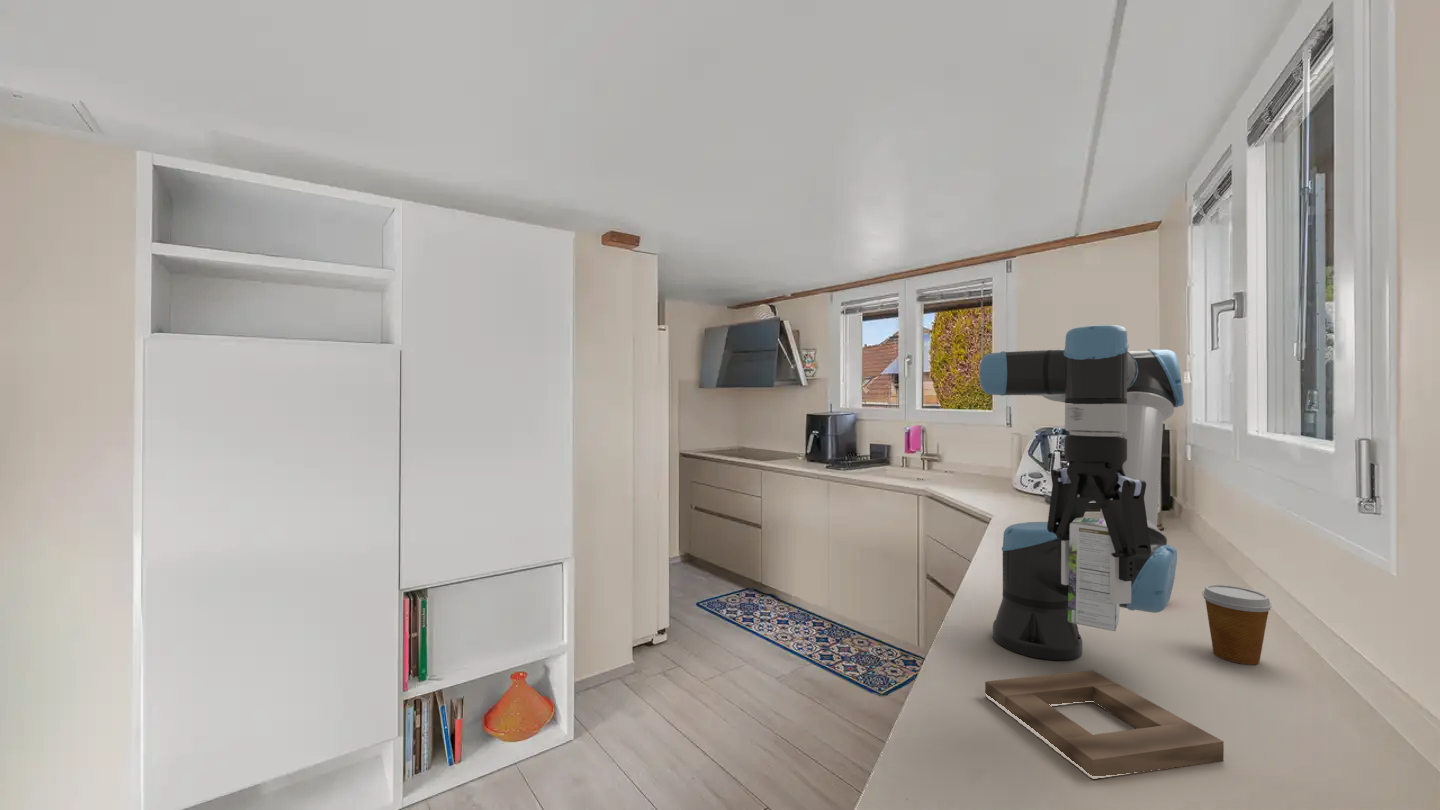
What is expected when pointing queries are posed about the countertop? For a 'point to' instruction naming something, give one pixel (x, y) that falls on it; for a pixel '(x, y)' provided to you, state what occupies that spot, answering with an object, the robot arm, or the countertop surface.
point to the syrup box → (1090, 575)
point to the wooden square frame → (1113, 753)
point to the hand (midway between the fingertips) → (1094, 592)
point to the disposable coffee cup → (1236, 622)
